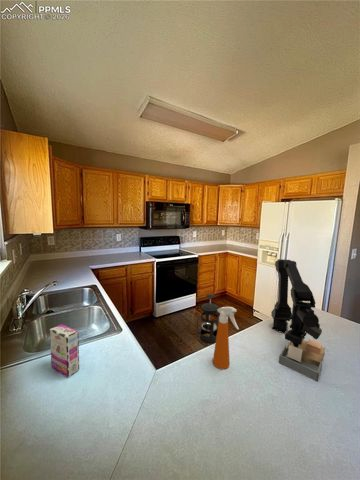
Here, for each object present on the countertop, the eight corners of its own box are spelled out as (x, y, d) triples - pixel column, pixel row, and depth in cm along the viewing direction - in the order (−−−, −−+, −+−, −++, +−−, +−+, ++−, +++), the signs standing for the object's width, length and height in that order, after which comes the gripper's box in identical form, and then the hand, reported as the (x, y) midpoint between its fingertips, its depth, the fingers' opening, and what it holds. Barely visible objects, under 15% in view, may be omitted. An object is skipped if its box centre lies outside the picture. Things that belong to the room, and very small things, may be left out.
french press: (216, 332, 107) (218, 291, 104) (221, 343, 98) (224, 298, 95) (194, 333, 106) (196, 291, 103) (198, 344, 96) (200, 299, 94)
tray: (278, 362, 86) (279, 355, 85) (284, 352, 92) (285, 345, 92) (317, 381, 76) (318, 373, 76) (321, 368, 83) (322, 361, 82)
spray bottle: (230, 378, 77) (234, 313, 74) (209, 362, 85) (212, 303, 82) (240, 369, 81) (244, 308, 78) (219, 355, 89) (222, 299, 86)
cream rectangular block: (288, 356, 89) (287, 356, 87) (290, 345, 90) (289, 344, 88) (301, 362, 86) (300, 362, 84) (302, 349, 87) (302, 349, 85)
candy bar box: (80, 369, 79) (79, 330, 77) (68, 378, 74) (66, 337, 73) (63, 359, 84) (61, 323, 82) (50, 367, 80) (48, 328, 78)
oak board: (285, 353, 92) (286, 348, 92) (293, 340, 101) (293, 336, 101) (319, 368, 83) (320, 362, 83) (324, 353, 93) (324, 348, 92)
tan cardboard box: (306, 349, 91) (307, 343, 91) (308, 344, 95) (309, 338, 94) (319, 355, 88) (320, 348, 87) (321, 349, 91) (322, 343, 91)
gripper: (317, 330, 76) (313, 368, 78) (324, 314, 90) (320, 346, 92) (285, 320, 83) (282, 354, 85) (296, 306, 97) (293, 336, 99)
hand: (296, 348), depth 90 cm, fingers closed
